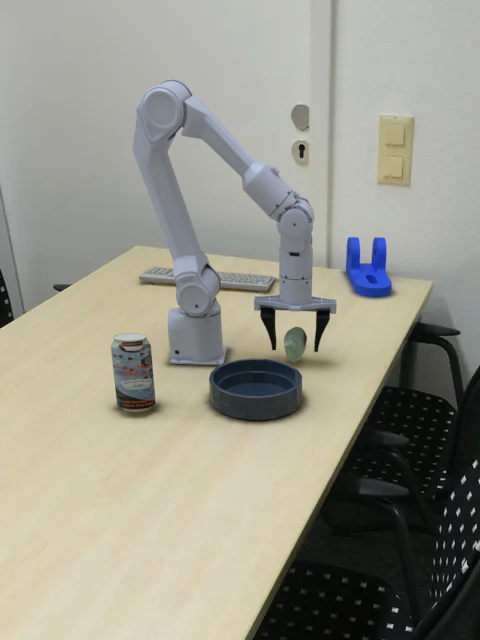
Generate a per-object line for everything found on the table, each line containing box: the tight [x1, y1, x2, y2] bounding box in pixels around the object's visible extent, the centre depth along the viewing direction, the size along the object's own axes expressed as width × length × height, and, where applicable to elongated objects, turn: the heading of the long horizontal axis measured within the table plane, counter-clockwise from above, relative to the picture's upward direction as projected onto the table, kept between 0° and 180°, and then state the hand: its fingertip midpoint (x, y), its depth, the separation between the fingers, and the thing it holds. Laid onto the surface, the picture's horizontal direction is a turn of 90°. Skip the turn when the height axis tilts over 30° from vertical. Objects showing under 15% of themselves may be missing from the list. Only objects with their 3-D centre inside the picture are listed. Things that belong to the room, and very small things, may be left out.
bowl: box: [208, 357, 303, 421], centre depth 130 cm, size 15×15×4 cm
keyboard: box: [138, 265, 276, 294], centre depth 177 cm, size 29×10×2 cm, turn 86°
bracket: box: [345, 236, 392, 298], centre depth 179 cm, size 18×8×9 cm, turn 10°
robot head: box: [283, 326, 308, 364], centre depth 142 cm, size 8×4×7 cm, turn 173°
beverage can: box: [110, 332, 157, 413], centre depth 123 cm, size 6×7×12 cm
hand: (295, 349), depth 142 cm, fingers open, 7 cm apart
